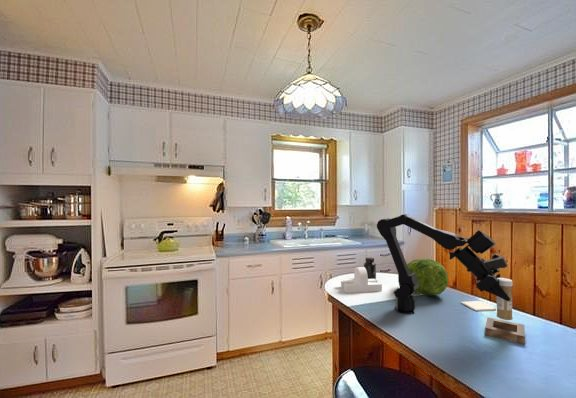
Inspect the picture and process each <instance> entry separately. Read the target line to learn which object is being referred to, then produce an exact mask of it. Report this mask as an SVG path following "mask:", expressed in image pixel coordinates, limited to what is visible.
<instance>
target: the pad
mask: <svg viewBox="0 0 576 398" xmlns="http://www.w3.org/2000/svg"><path fill="white" fill-rule="evenodd" d="M460 303H461V304H462V305H463V306H466V307H467V308H469V309H471V310H473V311H475V312H484V311H485V312H486V311H497V307H495V306H494V307H493V306H492V305H490V304H488V303H485V302H484V301H481V300H472V301H469V300H468V301H461V302H460Z"/></svg>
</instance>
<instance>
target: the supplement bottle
mask: <svg viewBox="0 0 576 398" xmlns="http://www.w3.org/2000/svg"><path fill="white" fill-rule="evenodd" d="M363 267H365V269H366V271H367V275H368V279H376V280H377V264H376V262H375V258H374V257H365V262H364V263H363Z"/></svg>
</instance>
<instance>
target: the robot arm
mask: <svg viewBox="0 0 576 398" xmlns="http://www.w3.org/2000/svg"><path fill="white" fill-rule="evenodd" d="M402 225H404V226H407V227H409V228H410V229H413V230H414V231H416V232H418V233H420V234H423V235H425V236H426V237H429V238H431V240H433V241H434V242H435V243H436V244H438V245H440V246H441V247H442V248H444V249H445V250H448V251H449V252H448V254H449V260H453V259H454V258H456V259H457V260H458V261H459V262H460V263H461V264H462V265H463V266H464V267H465V268H466V272H468V273H471V274H472V275H473V276H474V277H475V278H476V288H477V290H479V291H480V292H481V293H483V292H487V293H489V294H492V295H494V296H496V297H497V296H498V297H500V298H502V299H504V300H506V301H509V300H510V298H509V296H508V295H507V294H506V293H505V291H504V290H503V289H502V287H501V286H500V285H499V279H497V278H501V272H500V269H505V268H508V263H507V261H506V259H505V257H504V256H503V255H501V256H500V255H499V254H497V253H496V254H493V255H492V256H491V258H490V259H486V260H485V259H484V258H482V257H479V256H478V254H479V253H480V254H481V255H483V254H484V253H486V252H487V251H488V250H490V249H491V248H493V247H494V246H496V242H495V240H493V238H492V237H490V236H489V235H487V234H486V233H485V232H483V231H482V230H480V229H478V230H476V232H475V233H474V234H472V235H471V236H470V237H469V238H467V237H463V236H459V235H458V234H457V233H454V232H451V231H447V230H442V229H438V228H436V227H434V226H432V225H430V224H428V223H425V222H423V221H421V220H419V219H417V218H415V217H413V216H410V215H409V214H400V215H399V216H396V217H393V218H389V217H388V218H383V219H379V220H378V221H377V223H376V229H377V231H378V232H379V234H380V236H381V237H382V238H383V239H384V241H385V242H386V245H387V248H388V249H389V252H390V255H391V259H392V260H393V263H394V267H395V268H396V271H397V275H398V277H397V279H398V280H397V281H398V288H397V289H396V290H394V292H393V293H394V297H395V305H394V308H395V309H396V311H397V313H399V314H400V313H401V314H402V313H403V314H416V313H415V309H416V306H415V304H416V303H415V302H416V301H415V299H414V296H413V294H414V293H415V291H416V290H417V289H418V287H419V284H418V283H419V280H418V279H417V276H416V273H413V274H412V273H411V271H410V270H409V269H408V266H407V264H408V263H407V261H406V258H405V255H404V254H403V250H402V249H401V246H400V243H399V241H398V238H397V227H399V226H402ZM462 247H463V248H462ZM456 248H457V249H456ZM451 250H454V251H451ZM497 273H498V274H497Z"/></svg>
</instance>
